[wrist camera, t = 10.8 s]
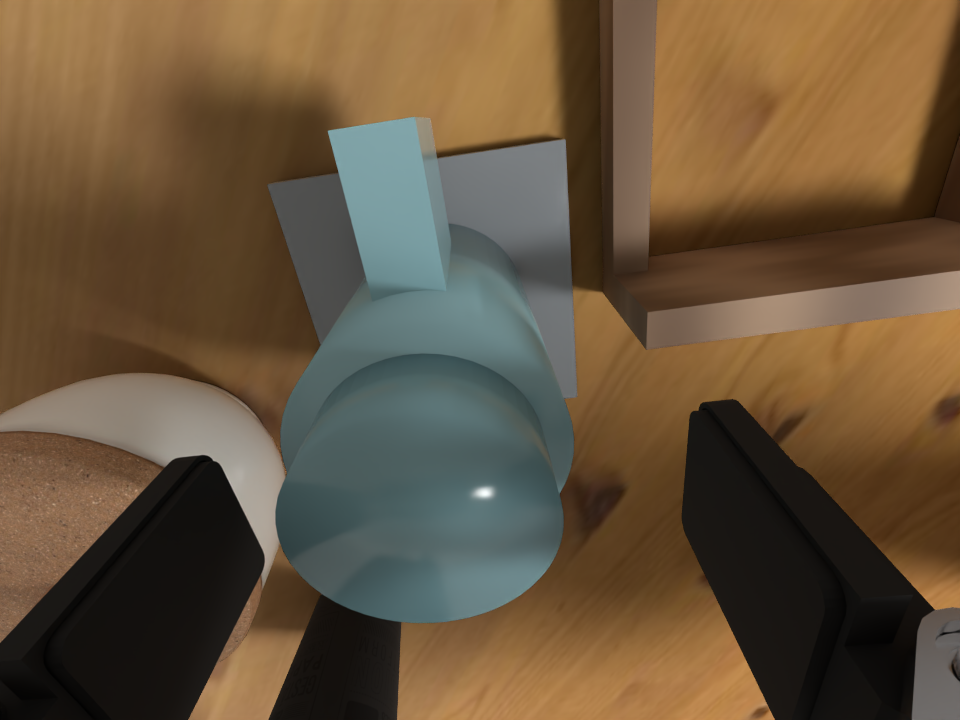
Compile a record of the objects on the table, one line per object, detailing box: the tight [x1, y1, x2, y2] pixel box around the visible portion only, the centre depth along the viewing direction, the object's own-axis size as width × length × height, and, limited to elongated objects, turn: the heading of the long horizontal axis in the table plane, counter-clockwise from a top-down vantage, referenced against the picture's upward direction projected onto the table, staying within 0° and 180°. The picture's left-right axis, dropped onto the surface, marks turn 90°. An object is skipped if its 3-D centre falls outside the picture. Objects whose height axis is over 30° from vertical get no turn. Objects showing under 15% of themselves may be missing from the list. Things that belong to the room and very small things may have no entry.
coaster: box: [267, 139, 577, 399], centre depth 18 cm, size 10×10×1 cm
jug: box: [275, 117, 574, 623], centre depth 12 cm, size 6×9×11 cm, turn 8°
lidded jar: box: [0, 373, 286, 664], centre depth 17 cm, size 11×11×9 cm
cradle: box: [599, 0, 960, 350], centre depth 13 cm, size 13×11×5 cm
